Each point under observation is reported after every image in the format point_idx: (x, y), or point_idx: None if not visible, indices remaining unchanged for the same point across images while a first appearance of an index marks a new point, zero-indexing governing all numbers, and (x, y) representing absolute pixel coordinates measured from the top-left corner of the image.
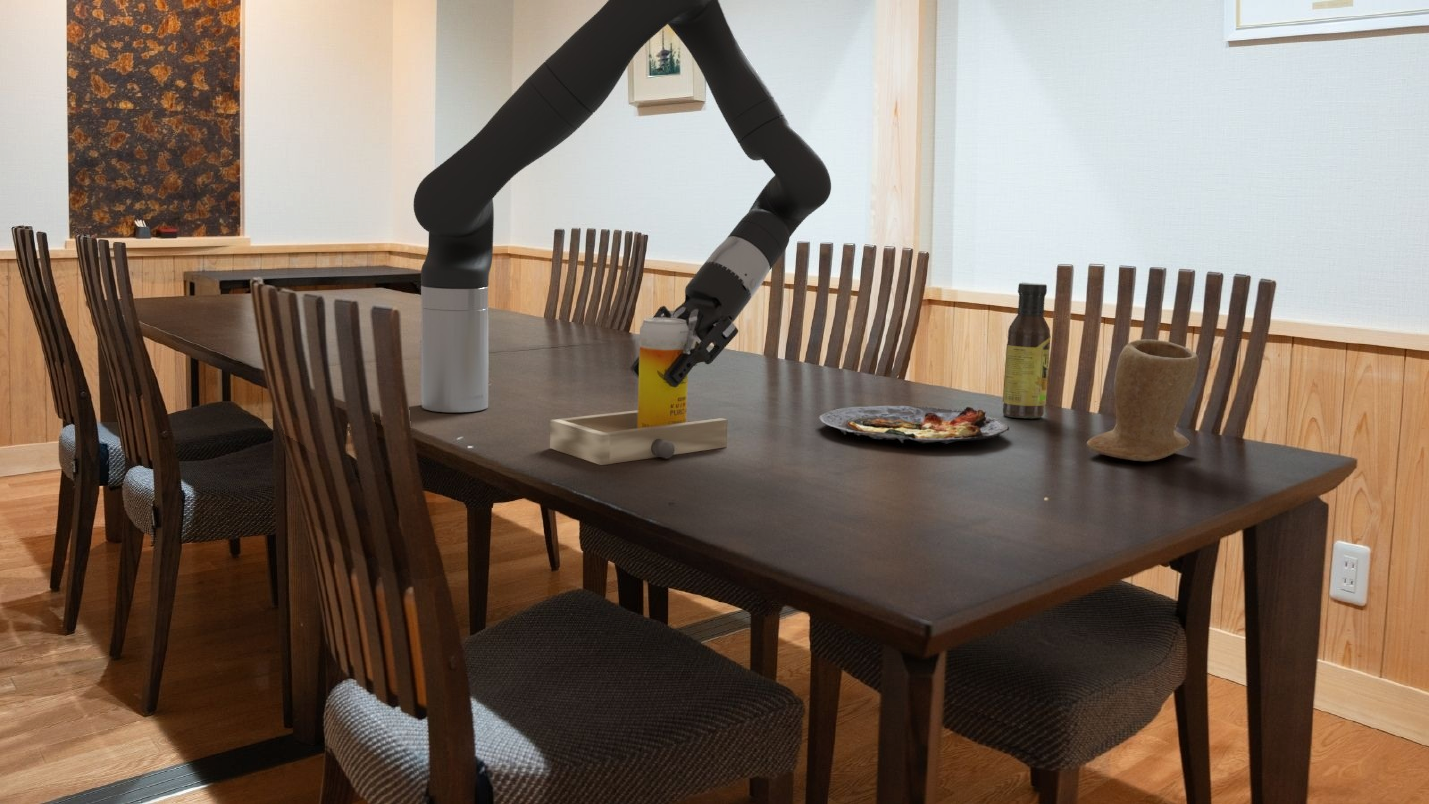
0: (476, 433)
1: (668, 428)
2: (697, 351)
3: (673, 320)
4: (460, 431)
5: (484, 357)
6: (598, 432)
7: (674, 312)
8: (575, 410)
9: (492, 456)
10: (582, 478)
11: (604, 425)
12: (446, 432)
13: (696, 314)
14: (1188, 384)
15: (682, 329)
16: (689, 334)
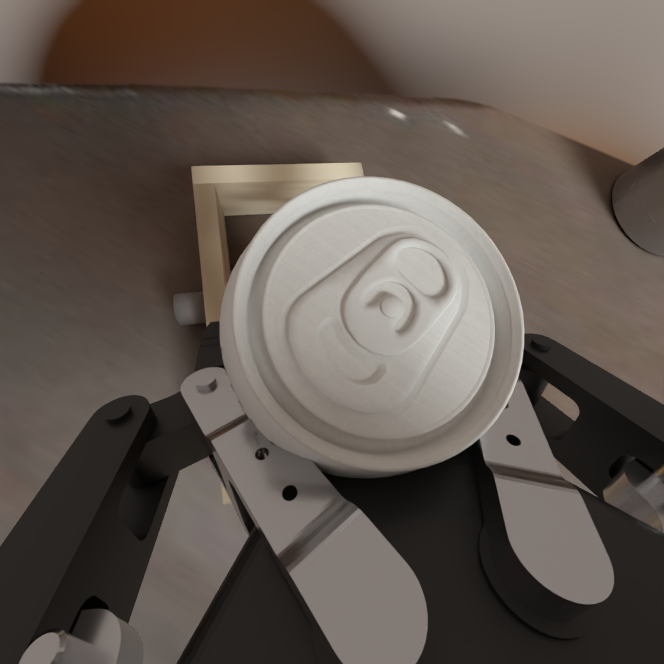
0: (478, 159)
1: (206, 322)
2: (120, 398)
3: (446, 415)
4: (495, 148)
5: None
6: (219, 175)
7: (660, 538)
8: (615, 371)
9: (329, 109)
10: (139, 138)
11: None
12: (493, 130)
13: (314, 592)
14: None
15: (229, 368)
16: (234, 424)
